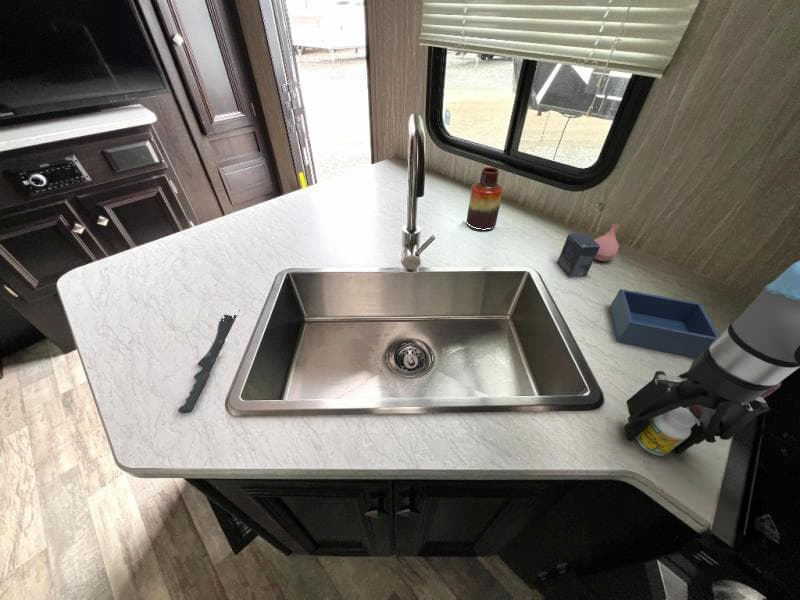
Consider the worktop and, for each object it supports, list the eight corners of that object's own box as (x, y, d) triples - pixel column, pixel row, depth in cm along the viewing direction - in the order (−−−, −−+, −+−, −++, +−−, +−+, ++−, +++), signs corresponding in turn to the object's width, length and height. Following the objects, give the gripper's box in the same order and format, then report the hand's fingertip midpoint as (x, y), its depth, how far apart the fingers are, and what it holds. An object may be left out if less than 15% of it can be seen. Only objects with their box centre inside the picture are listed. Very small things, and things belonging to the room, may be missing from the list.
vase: (483, 235, 114) (494, 178, 100) (460, 224, 120) (467, 169, 106) (501, 225, 119) (513, 170, 106) (477, 215, 125) (487, 161, 112)
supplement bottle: (674, 448, 57) (709, 422, 51) (656, 461, 56) (689, 436, 49) (645, 422, 61) (674, 395, 55) (627, 434, 59) (655, 408, 53)
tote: (684, 322, 81) (701, 303, 77) (702, 360, 72) (722, 340, 68) (608, 307, 85) (620, 288, 81) (616, 341, 76) (630, 322, 72)
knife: (229, 303, 86) (229, 302, 86) (245, 303, 87) (244, 301, 86) (170, 413, 63) (168, 411, 62) (191, 412, 63) (190, 410, 62)
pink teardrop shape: (612, 255, 104) (630, 222, 96) (612, 267, 99) (630, 233, 91) (586, 249, 106) (601, 216, 98) (585, 261, 101) (600, 227, 93)
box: (586, 276, 96) (601, 246, 88) (568, 277, 95) (581, 247, 88) (573, 261, 101) (586, 231, 94) (556, 262, 101) (568, 232, 94)
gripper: (815, 360, 43) (707, 437, 58) (650, 327, 48) (589, 406, 63) (854, 409, 38) (723, 479, 53) (664, 366, 43) (594, 442, 58)
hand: (651, 439), depth 58 cm, fingers open, 7 cm apart
